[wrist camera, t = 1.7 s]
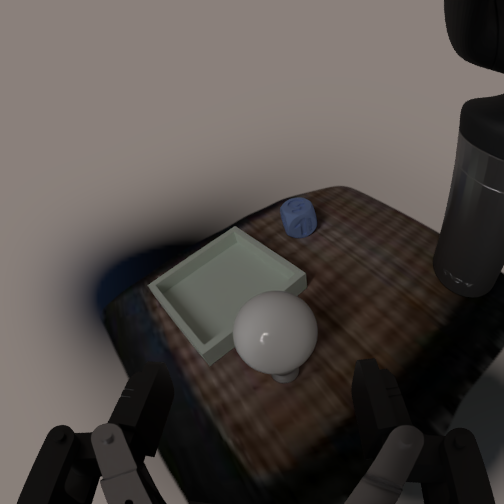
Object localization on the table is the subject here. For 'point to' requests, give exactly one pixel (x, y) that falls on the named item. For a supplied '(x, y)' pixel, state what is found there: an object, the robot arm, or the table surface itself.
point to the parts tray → (222, 288)
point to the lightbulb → (275, 334)
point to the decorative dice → (298, 217)
